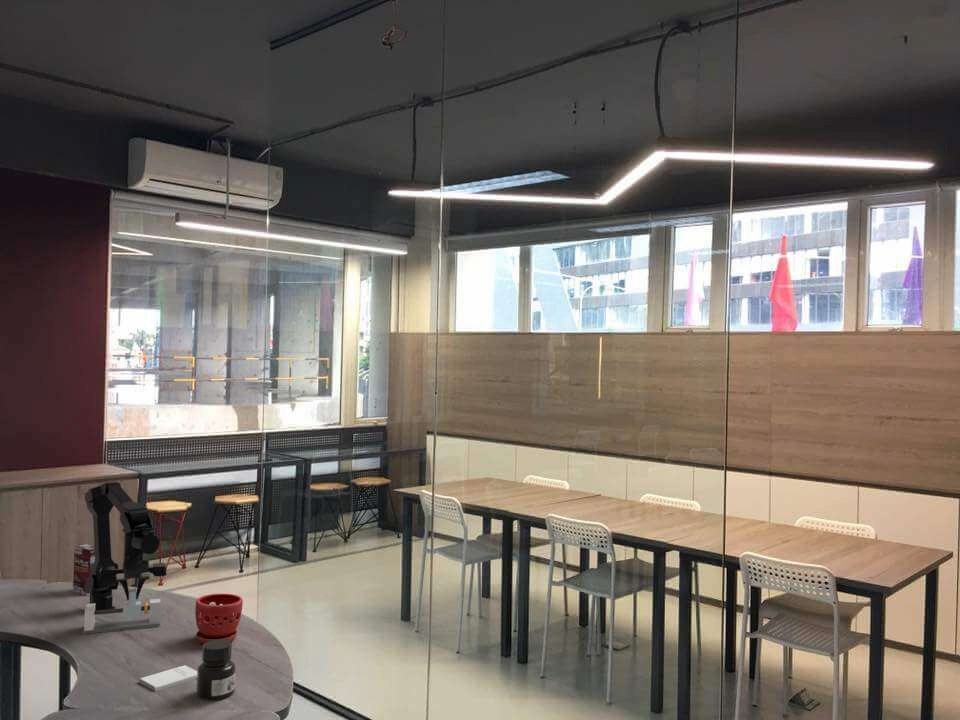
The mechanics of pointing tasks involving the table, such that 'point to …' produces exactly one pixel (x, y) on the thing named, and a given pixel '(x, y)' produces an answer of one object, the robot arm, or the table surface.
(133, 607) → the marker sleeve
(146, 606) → the grey slide rail
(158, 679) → the external hard drive
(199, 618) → the plant pot
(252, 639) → the table surface
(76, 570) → the supplement box
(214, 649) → the ink bottle
